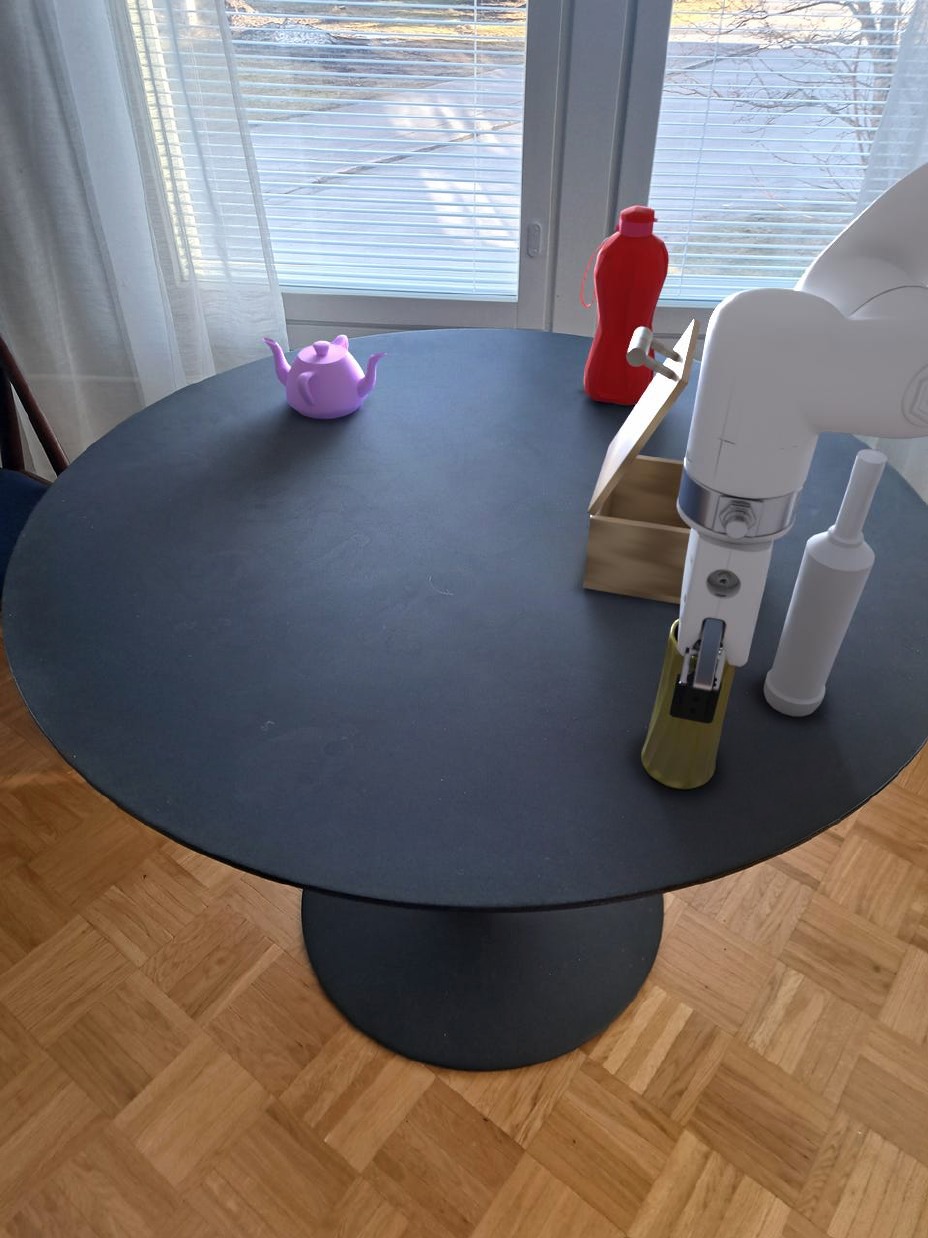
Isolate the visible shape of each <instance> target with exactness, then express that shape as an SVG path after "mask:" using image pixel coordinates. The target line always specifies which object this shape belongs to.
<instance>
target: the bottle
mask: <svg viewBox="0 0 928 1238" xmlns="http://www.w3.org/2000/svg"><path fill="white" fill-rule="evenodd" d="M887 461H888V457H887V455H886V454H885V453H883V452H882V451H879V450H877V449H871V448H869V449H867V448H866V449H860V450H859V451H858V452H857V454H856V457H855V460H854V462H853V463H854V464H853V466H852V469H851V473H850V476H849V481H848V484H847V486H846V490H845V494H844V496H843V499H842V502H841V505H840V508H839V512H838V515H837V517H836V521H835V523H834V524H833V525H831V526H830V527H828V529H827V531H824V532H821V533H817V534H814V535H812V536H811V537H810V538H809V539H808V540H807V542H806V544H805V549H804V552H803V556H802V560H801V564H800V567H799V571H798V574H797V576H796V577H797V578H796V580H795V585H794V588H793V591H792V595H791V599H790V603H789V606H788V609H787V613H786V617H785V621H784V623H783V629H782V632H781V636H780V639H779V643H778V645H777V650H776V653H775V655H774V656H775V657H774V661H773V664H772V668H771V669H770V670H769V671H768V672H767V674H766V676H765V681H764V685H763V693H764V694H763V695H764V697H765V700H766V702H767V704H769V705H770V707H771V708H772V709H774V710H776V711H777V712H779V713H780V714H784V715H787V716H791V717H805V716H808V715H811V714H813V713H814V712H815V711H816V710H817V709H818V708H819V706H821V704H822V703H823V700H824V697H825V696H826V695H825V694H826V690H827V689H826V683H827V681H828V678H829V676H830V673H831V671H832V668H833V666H834V663H835V660H836V659H837V656H838V654H839V650H840V649H841V646H842V643H843V641H844V638H845V636H846V634H847V631H848V628H849V626H850V623H851V621H852V618H853V616H854V614H855V612H856V608H857V606H858V604H859V601H860V598H861V596H862V593H863V591H864V588H865V585H866V584H867V581H868V579H869V576H870V573H871V571H872V569H873V566H874V565H875V564H874V563H875V559H876V558H875V557H876V554H875V552H874V550H873V549H872V547H871V546H870V545H869V544H868V543H867V542H866V541H865V535H864V533H863V532H862V531H863V528H864V525H865V522H866V520H867V516H868V513H869V510H870V507H871V505H872V502H873V499H874V496H875V493H876V491H877V487H878V485H879V483H880V481H881V478H882V475H883V473H884V470H885V468H886V464H887Z"/></svg>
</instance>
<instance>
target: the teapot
mask: <svg viewBox="0 0 928 1238" xmlns="http://www.w3.org/2000/svg"><path fill="white" fill-rule="evenodd" d="M262 340H263V341H264V342H265V343H266V345H267V346H268V347H269V348H270V350H271V353H272V356H273V362H274V370H275V375H276V377H277V379H278V381H279V382H280V384H281V385H282V386H283V387H284V388H285V398H286V401H287V403H288V404H289V405H290V406H291V407H292V408H293V409H294V410H295V411H297V412H298V413H299V414H301V415H302V416H304V417H307V418H312V419H319V420H329V419H330V420H331V419H337V418H342V417H345V416H348V415H350V414H352V413H354V412H355V411H357V410H358V409H359V408H360V407H361V405H362V404H363V403H364V401H365V400H366V399H367V396H368V395H369V394H370V393H371V392H373V389H374V387H375V385H376V380H377V365H378V362H379V361H380V359H381V358H382V357H384V356H386V354H387V353H386V352H377V353H374V354H372V355H370V356H369V358H368V360H367V364H366V372H365V374H364V371H363V370H362V368H361V367H360V365H359V363H358V362H357V360H356V359H355V358H354V357H353V355H352V354H351V353H350V352H349V340H348V337H347V335H345V334H340V335H338V336H337V337H336V338H335V339H334V340H333V341H332V343H330V342H329V341H326V340H319V341H315V342H314V343H313V344H312V345H309V346H307V347H304V348H302V349H301V350H299V352H298V353H297V354H296V356H295V358H294V359H293V362H292V364H291V366H290V365H289V364H288V362H287V360H286V358H285V355H284V352H283V349H282V347H281V346H280V345H279V343H278V342H276V341H275V340H273V339H272V338H269V337H262Z"/></svg>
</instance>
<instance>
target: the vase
mask: <svg viewBox="0 0 928 1238" xmlns="http://www.w3.org/2000/svg"><path fill="white" fill-rule="evenodd" d="M678 629H679V618H678V619H677V620H675V621H674V622H673V623H672V625H671V627H670V630H669V635H668V638H667V639H668V641H667V645H666V650H665V656H664V661H663V666H662V671H661V676H660V679H659V685H658V689H657V693H656V697H655V700H654V705H653V709H652V713H651V716H650V721H649V726H648V730H647V734H646V738H645V741H644V744H643V747H642V750H641V755H640V758H641V763H642V766H643V768H644V769H645V771H646V772H647V774H648V775H649V776H650V777H652V779H654V780H656V781H657V782H659V783H660V784H663V786H666V787H668V788H673V789H677V790H692V789H696V788H698V787H701V786H704V785H705V784H706V783H708V782H709V781H710V779H711V778H712V777H713V776H714V773H715V770H716V763H717V762H716V761H717V755H718V750H719V746H720V741H721V737H722V729H723V723H724V718H725V716H726V715H725V714H726V710H727V707H728V703H729V702H728V701H729V698H730V693H731V690H732V689H731V688H732V683H733V679H734V676H735V671H736V668H737V666H735V665H729V663H728V660H727V657H726V659H725V662H724V667H723V672H722V676H721V681H720V682H722V687H721V691H720V695H719V699H718V703H717V706H716V710H715V714H714V718H713V721H712V723H709V724H707V723H702V722H696V721H691V720H686V719H681V718H676V717H672V716H671V715H670V713H669V712H670V706H671V701H672V697H673V692H674V687H675V682H676V677H677V674H681V671H682V666H683V661H684V657H683V656H682V655H681V654H680V653H679V651H678V650H677V646H678ZM700 642H701V640H700V639H698V640H697V641H696V642H695V643H699V644H700ZM721 645H722V643H720V646H719V647H721ZM697 659H698V657H695V656H692V661H691V666H690V670H691V669H693V670H695V669H696V664H697Z"/></svg>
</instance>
